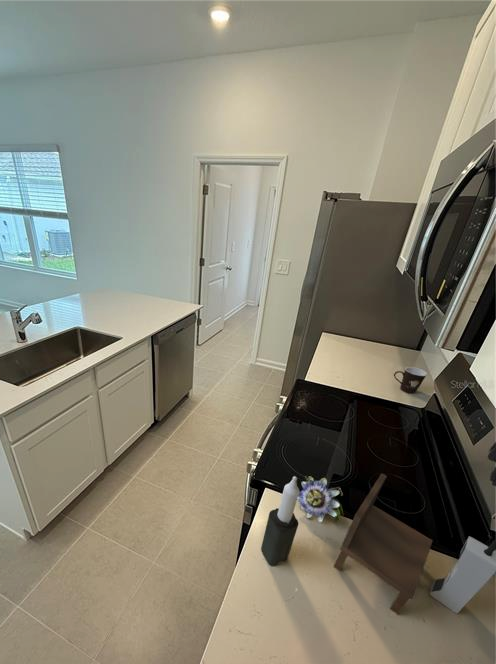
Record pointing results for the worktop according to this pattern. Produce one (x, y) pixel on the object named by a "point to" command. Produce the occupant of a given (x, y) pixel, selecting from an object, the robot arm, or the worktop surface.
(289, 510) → the candle
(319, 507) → the passion flower
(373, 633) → the worktop surface
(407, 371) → the coffee mug
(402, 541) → the shelf
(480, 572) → the vintage mobile phone
